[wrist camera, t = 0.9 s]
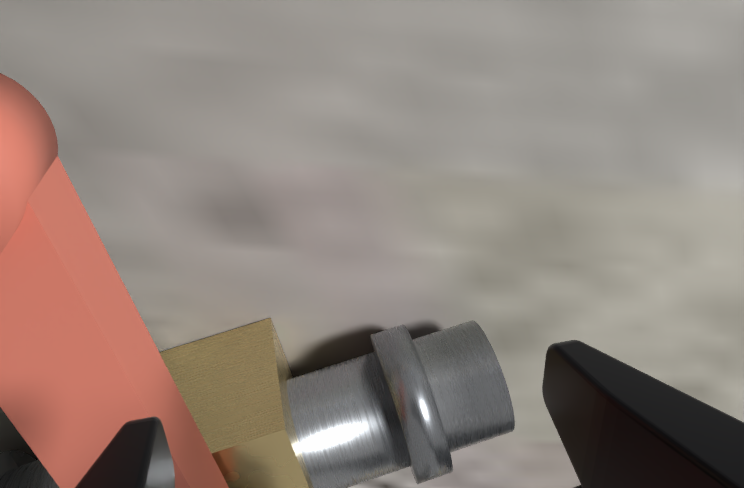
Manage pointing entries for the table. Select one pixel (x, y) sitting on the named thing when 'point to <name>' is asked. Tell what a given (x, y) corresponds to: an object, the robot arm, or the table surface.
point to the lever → (73, 319)
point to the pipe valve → (329, 408)
